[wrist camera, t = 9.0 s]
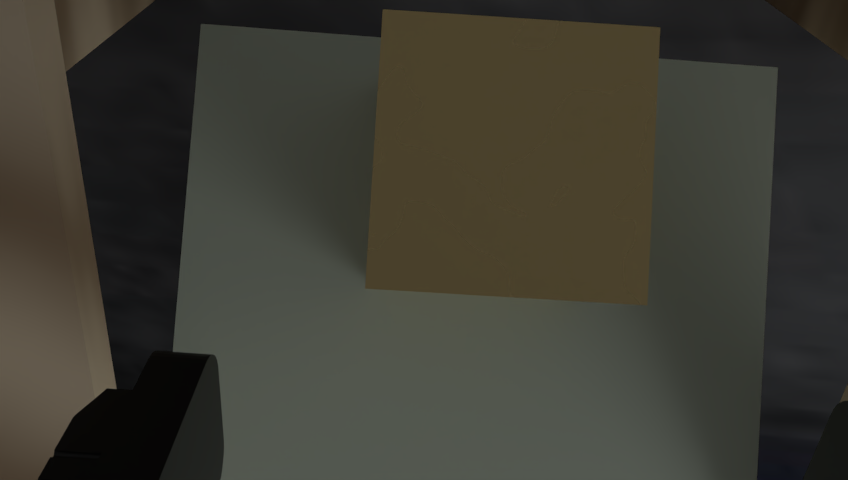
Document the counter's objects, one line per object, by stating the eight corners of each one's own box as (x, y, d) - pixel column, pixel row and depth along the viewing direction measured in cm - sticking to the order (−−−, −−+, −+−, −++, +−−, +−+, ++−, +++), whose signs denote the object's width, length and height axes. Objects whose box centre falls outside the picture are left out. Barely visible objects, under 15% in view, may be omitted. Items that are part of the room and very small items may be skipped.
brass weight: (595, 92, 19) (660, 27, 14) (585, 298, 19) (647, 305, 14) (389, 78, 19) (382, 9, 14) (376, 285, 19) (364, 288, 14)
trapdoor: (683, 820, 22) (734, 920, 19) (171, 788, 22) (126, 884, 18) (722, 99, 23) (777, 67, 20) (232, 61, 23) (200, 23, 19)
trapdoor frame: (658, 487, 37) (766, 852, 25) (198, 456, 37) (70, 810, 24) (848, -127, 24) (1285, -13, 11) (134, -184, 24) (-214, -129, 11)
